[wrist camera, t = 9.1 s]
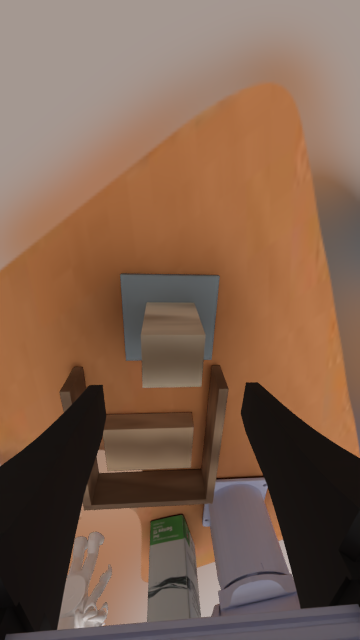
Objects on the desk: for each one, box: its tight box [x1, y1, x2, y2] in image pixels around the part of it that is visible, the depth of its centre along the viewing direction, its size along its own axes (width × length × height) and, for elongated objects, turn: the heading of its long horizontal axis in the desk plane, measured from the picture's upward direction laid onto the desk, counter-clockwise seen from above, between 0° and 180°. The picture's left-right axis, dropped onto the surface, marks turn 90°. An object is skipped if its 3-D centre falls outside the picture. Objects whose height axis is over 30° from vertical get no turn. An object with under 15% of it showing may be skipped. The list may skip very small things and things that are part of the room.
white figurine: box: [57, 532, 112, 630], centre depth 29 cm, size 9×4×12 cm, turn 109°
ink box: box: [147, 515, 201, 622], centre depth 30 cm, size 9×5×12 cm, turn 12°
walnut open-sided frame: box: [60, 365, 228, 510], centre depth 25 cm, size 16×14×4 cm
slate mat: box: [120, 274, 220, 361], centre depth 21 cm, size 8×8×1 cm
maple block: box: [141, 302, 206, 388], centre depth 18 cm, size 4×4×6 cm
